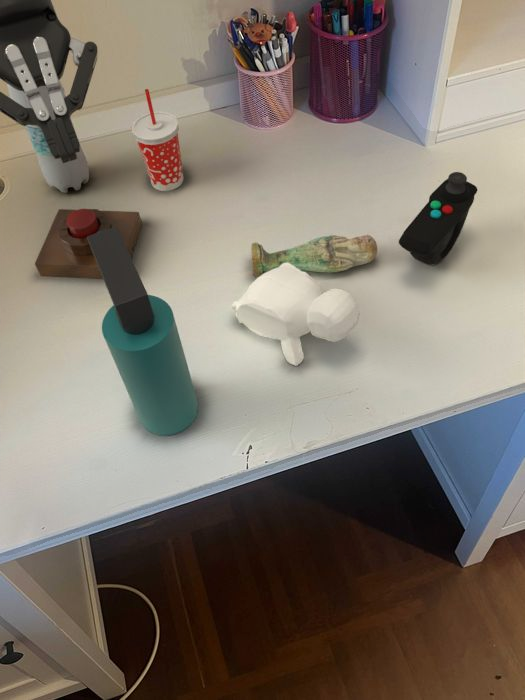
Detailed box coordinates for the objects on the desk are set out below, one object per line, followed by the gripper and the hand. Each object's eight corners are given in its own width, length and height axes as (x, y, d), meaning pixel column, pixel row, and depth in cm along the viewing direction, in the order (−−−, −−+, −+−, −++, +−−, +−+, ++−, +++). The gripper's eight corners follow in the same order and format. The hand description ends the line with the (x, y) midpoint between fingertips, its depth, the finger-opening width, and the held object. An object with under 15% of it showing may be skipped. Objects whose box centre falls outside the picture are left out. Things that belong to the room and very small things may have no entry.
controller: (470, 235, 82) (486, 170, 74) (420, 297, 77) (432, 234, 69) (439, 222, 84) (452, 157, 76) (389, 281, 79) (396, 219, 71)
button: (67, 238, 82) (62, 228, 80) (75, 218, 84) (71, 208, 82) (94, 239, 81) (90, 229, 80) (102, 219, 83) (98, 209, 82)
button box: (40, 275, 83) (29, 253, 80) (63, 221, 89) (54, 198, 86) (124, 279, 82) (116, 257, 79) (142, 224, 88) (135, 201, 84)
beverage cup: (140, 175, 94) (115, 85, 83) (179, 161, 95) (161, 71, 84) (154, 200, 90) (130, 110, 79) (195, 185, 92) (178, 94, 80)
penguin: (242, 350, 78) (341, 381, 68) (213, 295, 73) (317, 320, 63) (285, 304, 82) (386, 328, 71) (261, 249, 77) (366, 266, 66)
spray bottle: (206, 421, 69) (173, 296, 53) (149, 445, 68) (97, 324, 52) (172, 345, 75) (133, 213, 59) (119, 365, 74) (64, 236, 58)
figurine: (254, 247, 84) (252, 225, 81) (375, 247, 82) (377, 224, 79) (251, 279, 80) (249, 257, 77) (377, 279, 79) (379, 257, 76)
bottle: (102, 183, 93) (57, 48, 77) (60, 204, 91) (4, 70, 75) (80, 160, 97) (33, 26, 81) (39, 180, 95) (-18, 47, 78)
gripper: (-87, -25, 55) (-4, 174, 58) (65, -63, 58) (137, 130, 61) (-66, 11, 63) (7, 187, 66) (68, -24, 65) (133, 147, 68)
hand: (69, 159), depth 63 cm, fingers closed
